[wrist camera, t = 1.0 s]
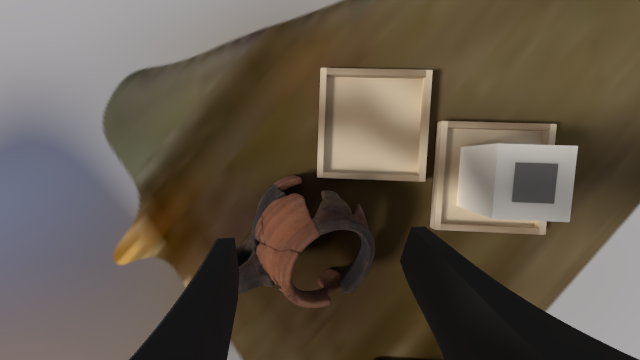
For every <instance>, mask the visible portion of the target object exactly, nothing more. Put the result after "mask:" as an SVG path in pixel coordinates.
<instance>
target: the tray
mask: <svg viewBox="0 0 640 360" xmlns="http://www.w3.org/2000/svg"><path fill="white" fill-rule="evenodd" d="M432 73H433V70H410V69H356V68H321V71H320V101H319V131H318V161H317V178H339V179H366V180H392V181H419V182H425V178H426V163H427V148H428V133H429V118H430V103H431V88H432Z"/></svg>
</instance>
